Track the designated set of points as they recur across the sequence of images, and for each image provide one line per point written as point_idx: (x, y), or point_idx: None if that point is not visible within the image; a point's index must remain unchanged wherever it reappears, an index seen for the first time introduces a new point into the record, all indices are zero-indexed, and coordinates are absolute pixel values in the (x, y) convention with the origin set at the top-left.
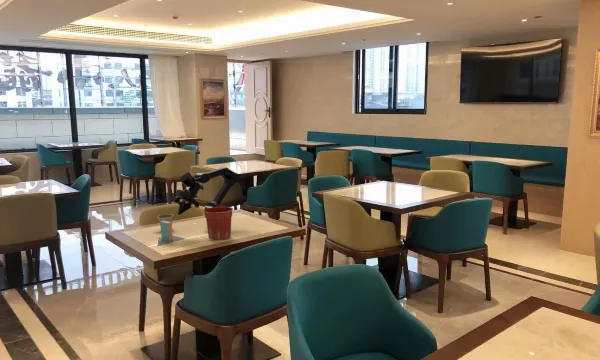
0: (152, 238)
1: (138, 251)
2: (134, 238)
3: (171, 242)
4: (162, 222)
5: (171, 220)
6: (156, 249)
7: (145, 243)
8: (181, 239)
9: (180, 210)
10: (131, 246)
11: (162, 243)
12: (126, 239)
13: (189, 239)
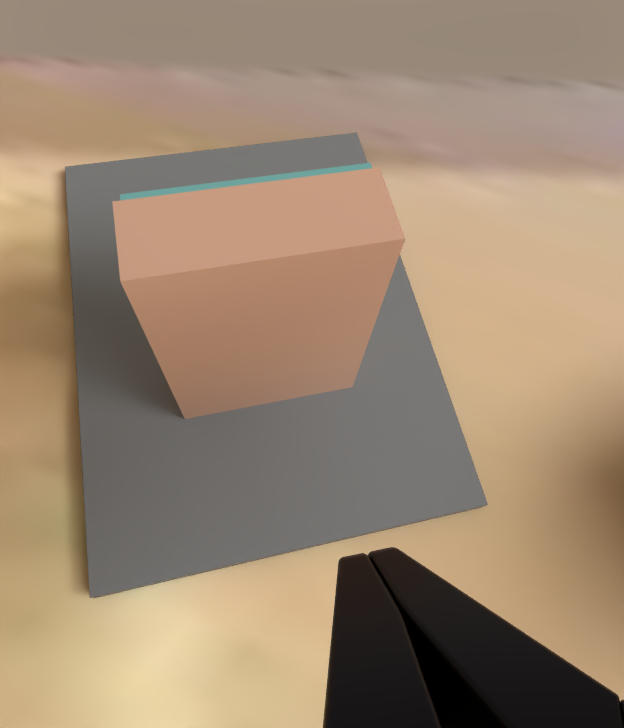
0: (485, 297)
1: (102, 61)
2: (597, 178)
3: (81, 357)
4: (297, 177)
5: None
6: (15, 172)
7: None
8: (105, 522)
9: (339, 670)
10: (314, 77)
11: None
12: (599, 124)
13: (64, 654)
